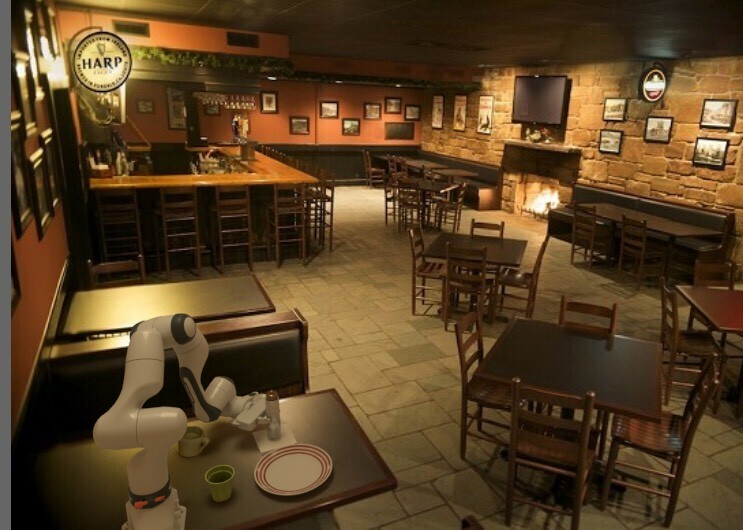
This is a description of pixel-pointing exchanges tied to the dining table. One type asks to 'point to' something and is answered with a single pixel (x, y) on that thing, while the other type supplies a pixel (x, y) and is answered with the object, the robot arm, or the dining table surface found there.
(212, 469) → the plant pot
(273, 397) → the pepper mill
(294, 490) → the dinner plate
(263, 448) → the serving tile
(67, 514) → the dining table surface
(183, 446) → the mug
